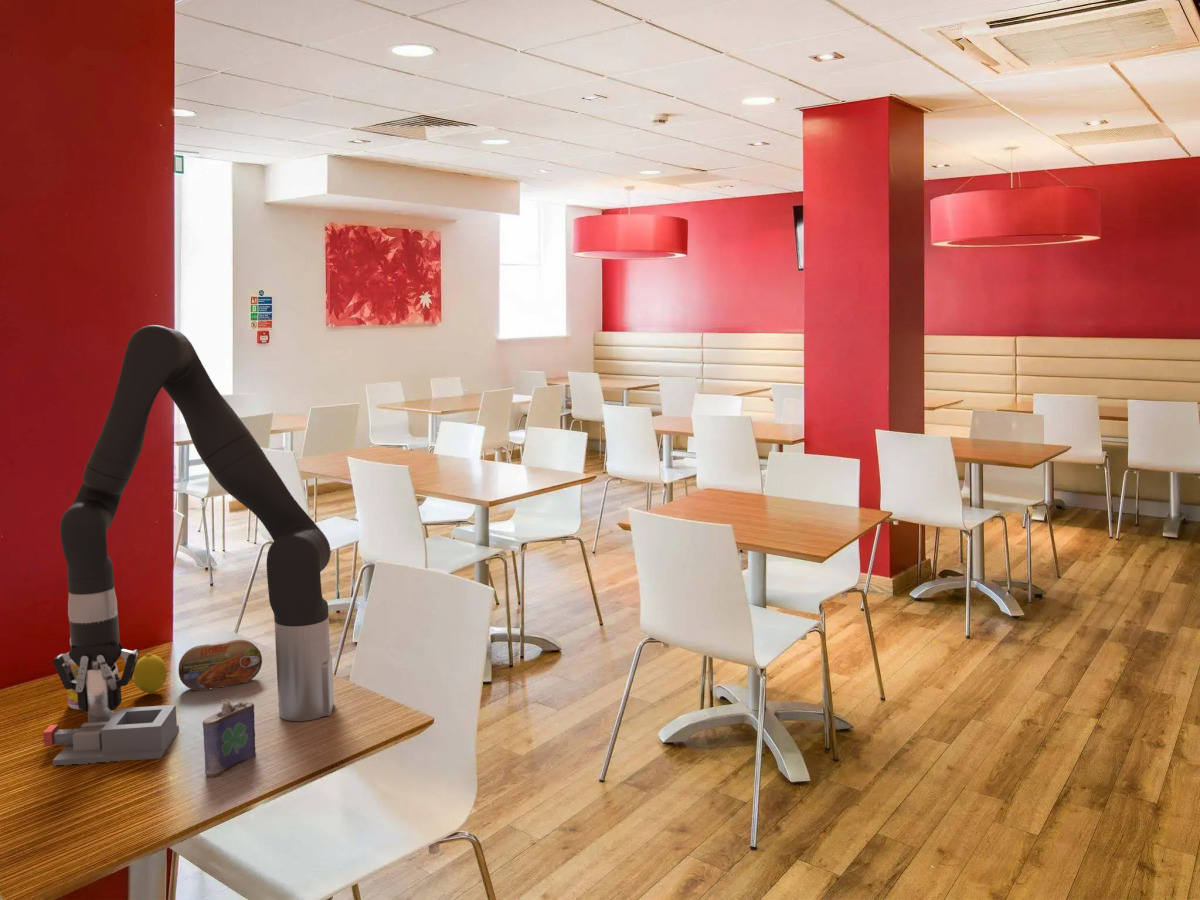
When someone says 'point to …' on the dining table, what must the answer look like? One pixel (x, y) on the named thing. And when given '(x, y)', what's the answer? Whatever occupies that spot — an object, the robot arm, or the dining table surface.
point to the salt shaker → (97, 695)
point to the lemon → (149, 673)
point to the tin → (219, 664)
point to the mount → (124, 737)
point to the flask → (229, 738)
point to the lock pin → (63, 735)
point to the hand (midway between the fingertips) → (100, 709)
